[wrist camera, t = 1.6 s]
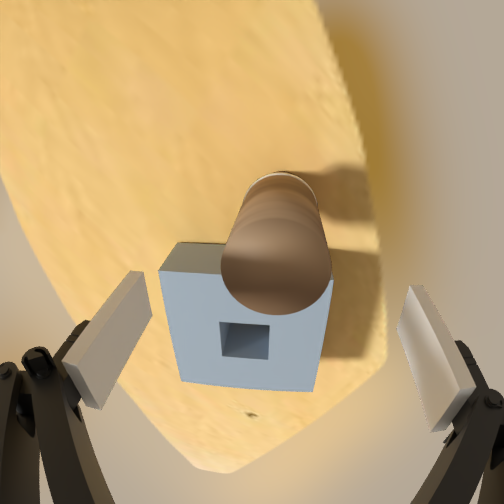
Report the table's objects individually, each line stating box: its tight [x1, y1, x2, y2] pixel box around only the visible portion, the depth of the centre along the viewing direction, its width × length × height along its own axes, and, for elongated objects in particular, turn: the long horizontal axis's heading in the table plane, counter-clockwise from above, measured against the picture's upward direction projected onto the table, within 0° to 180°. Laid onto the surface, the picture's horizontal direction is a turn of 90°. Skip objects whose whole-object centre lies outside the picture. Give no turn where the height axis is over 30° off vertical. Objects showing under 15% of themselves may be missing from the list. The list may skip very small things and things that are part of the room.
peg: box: [221, 171, 332, 315], centre depth 24 cm, size 6×6×15 cm
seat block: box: [158, 243, 334, 392], centre depth 34 cm, size 16×16×6 cm
